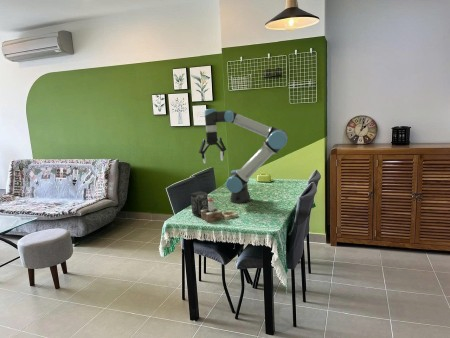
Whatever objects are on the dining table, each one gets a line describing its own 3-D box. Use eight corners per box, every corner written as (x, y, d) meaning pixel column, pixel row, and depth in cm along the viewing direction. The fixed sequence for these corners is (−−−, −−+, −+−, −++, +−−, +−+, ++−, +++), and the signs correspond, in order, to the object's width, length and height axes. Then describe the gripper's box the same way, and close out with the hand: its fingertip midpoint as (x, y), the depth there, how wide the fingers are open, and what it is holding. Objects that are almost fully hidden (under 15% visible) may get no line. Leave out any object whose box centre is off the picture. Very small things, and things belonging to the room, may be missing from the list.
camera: (199, 218, 216) (197, 196, 213) (190, 215, 224) (188, 193, 222) (212, 215, 222) (210, 192, 219) (203, 211, 230) (202, 190, 228)
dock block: (215, 215, 220) (214, 207, 219) (222, 219, 212) (221, 210, 211) (201, 218, 216) (200, 210, 215) (208, 222, 207) (207, 214, 206)
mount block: (231, 213, 223) (231, 210, 223) (238, 216, 215) (238, 213, 215) (219, 216, 219) (218, 213, 219) (225, 219, 211) (225, 216, 211)
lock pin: (213, 217, 216) (211, 197, 214) (215, 219, 213) (214, 198, 211) (208, 218, 214) (206, 198, 212) (210, 220, 211) (209, 200, 209)
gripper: (224, 129, 242) (226, 159, 246) (192, 132, 231) (195, 163, 235) (229, 130, 236) (231, 160, 240) (197, 133, 224) (199, 164, 228)
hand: (213, 161), depth 237 cm, fingers open, 13 cm apart
